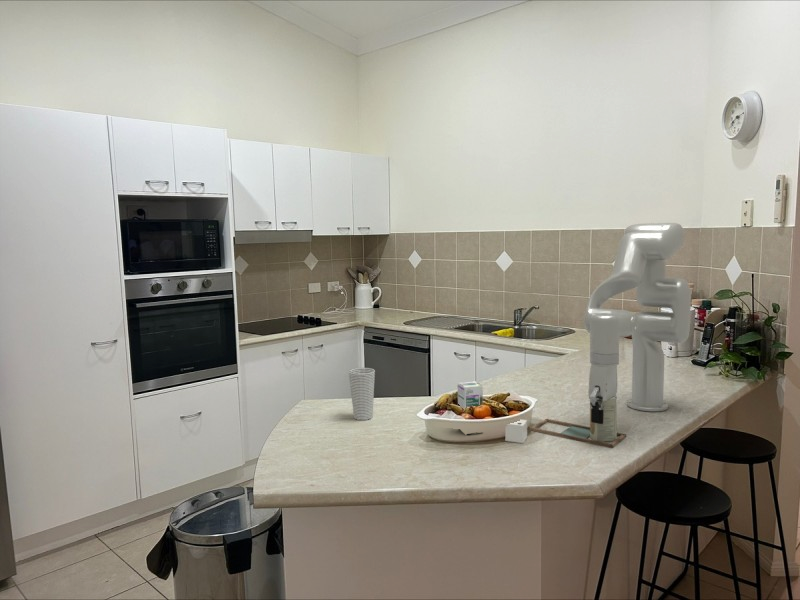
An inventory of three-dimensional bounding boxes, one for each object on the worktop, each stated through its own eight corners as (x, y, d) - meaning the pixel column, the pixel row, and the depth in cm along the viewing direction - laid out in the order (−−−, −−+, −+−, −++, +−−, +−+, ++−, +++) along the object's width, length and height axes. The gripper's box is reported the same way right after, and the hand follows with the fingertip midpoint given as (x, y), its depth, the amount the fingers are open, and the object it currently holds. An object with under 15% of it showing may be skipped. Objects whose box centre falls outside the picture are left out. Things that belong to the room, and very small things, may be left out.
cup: (360, 412, 192) (358, 366, 191) (381, 415, 188) (380, 369, 186) (344, 419, 185) (343, 372, 183) (366, 423, 181) (365, 374, 179)
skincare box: (611, 436, 164) (612, 394, 163) (617, 441, 160) (617, 398, 159) (588, 436, 164) (589, 394, 163) (593, 442, 160) (594, 399, 159)
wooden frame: (546, 421, 179) (546, 418, 178) (626, 436, 163) (626, 434, 163) (530, 430, 170) (530, 427, 170) (612, 448, 155) (612, 445, 155)
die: (509, 435, 167) (509, 418, 166) (527, 437, 165) (527, 419, 164) (505, 440, 163) (505, 423, 162) (523, 443, 160) (523, 425, 160)
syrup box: (465, 435, 168) (464, 386, 166) (457, 429, 173) (457, 382, 172) (483, 433, 169) (483, 385, 167) (475, 427, 175) (475, 380, 173)
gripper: (602, 350, 169) (602, 407, 171) (578, 362, 155) (578, 424, 157) (628, 353, 164) (627, 412, 166) (606, 366, 151) (605, 429, 153)
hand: (603, 418), depth 162 cm, fingers open, 9 cm apart
